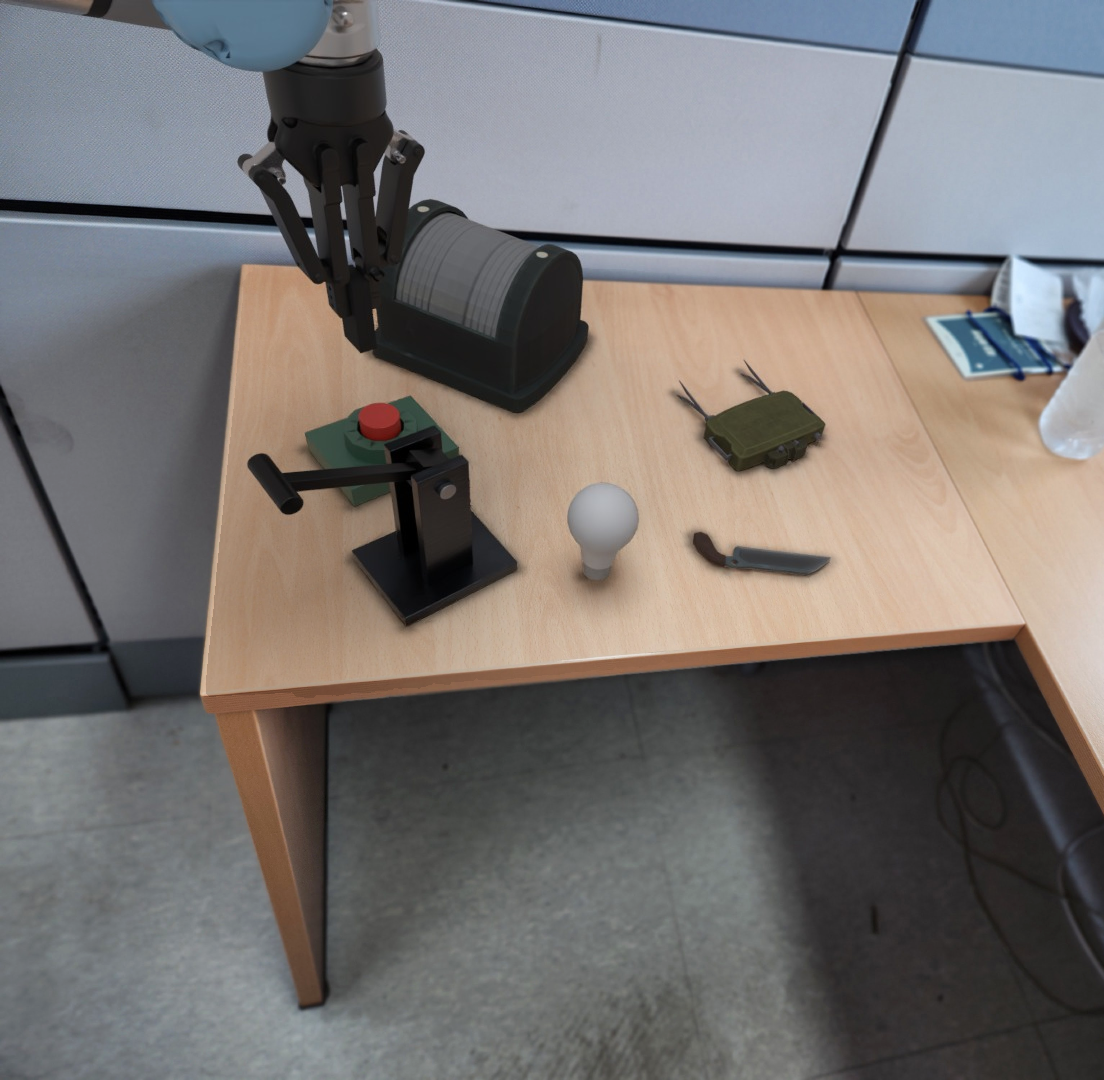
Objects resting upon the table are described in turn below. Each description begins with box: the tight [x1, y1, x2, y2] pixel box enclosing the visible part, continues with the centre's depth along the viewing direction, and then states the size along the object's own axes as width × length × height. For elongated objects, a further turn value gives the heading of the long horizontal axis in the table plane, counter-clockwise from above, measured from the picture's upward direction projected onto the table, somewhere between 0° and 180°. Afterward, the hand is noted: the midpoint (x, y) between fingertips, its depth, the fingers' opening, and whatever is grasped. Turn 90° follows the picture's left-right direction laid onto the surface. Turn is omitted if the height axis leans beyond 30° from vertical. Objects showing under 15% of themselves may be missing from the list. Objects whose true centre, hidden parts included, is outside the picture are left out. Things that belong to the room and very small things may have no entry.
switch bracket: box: [351, 425, 518, 627], centre depth 71 cm, size 11×9×14 cm
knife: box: [692, 531, 832, 576], centre depth 84 cm, size 14×4×1 cm, turn 91°
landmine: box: [677, 359, 826, 472], centre depth 96 cm, size 14×3×15 cm
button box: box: [304, 395, 460, 507], centre depth 82 cm, size 11×9×4 cm
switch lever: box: [246, 448, 450, 516], centre depth 63 cm, size 14×5×2 cm, turn 133°
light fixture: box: [371, 198, 590, 414], centre depth 92 cm, size 17×14×20 cm
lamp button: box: [359, 402, 401, 441], centre depth 80 cm, size 4×4×2 cm
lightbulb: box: [566, 482, 640, 582], centre depth 75 cm, size 6×6×11 cm
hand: (360, 341), depth 73 cm, fingers closed
